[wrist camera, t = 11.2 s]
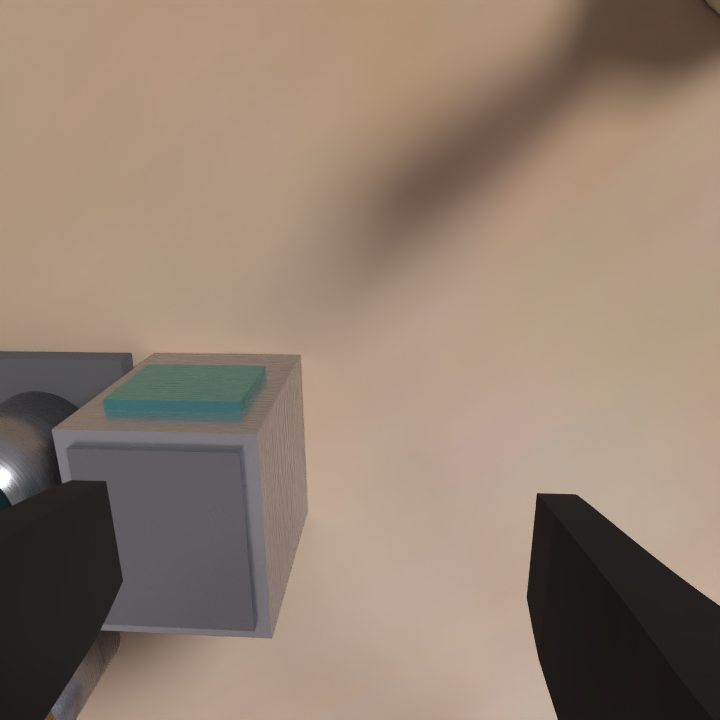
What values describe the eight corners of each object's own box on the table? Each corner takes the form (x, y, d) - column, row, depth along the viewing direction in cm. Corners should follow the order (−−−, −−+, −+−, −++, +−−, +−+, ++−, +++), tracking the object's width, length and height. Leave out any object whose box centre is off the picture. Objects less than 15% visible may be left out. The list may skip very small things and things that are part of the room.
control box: (307, 511, 21) (270, 644, 15) (174, 506, 21) (87, 635, 16) (300, 346, 19) (253, 426, 13) (153, 344, 19) (44, 421, 14)
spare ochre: (127, 670, 24) (43, 825, 18) (34, 666, 24) (-78, 816, 19) (113, 590, 23) (17, 730, 17) (14, 586, 23) (-111, 722, 18)
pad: (153, 506, 21) (144, 518, 21) (-1, 501, 22) (-15, 513, 21) (131, 352, 20) (120, 360, 19) (-37, 351, 20) (-54, 358, 19)
